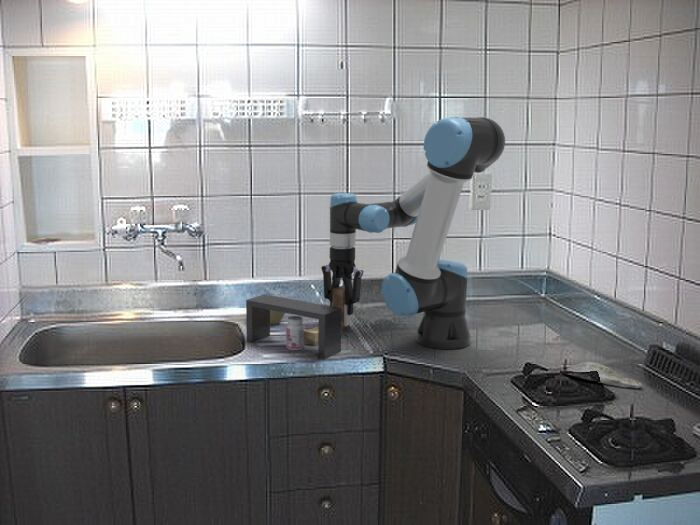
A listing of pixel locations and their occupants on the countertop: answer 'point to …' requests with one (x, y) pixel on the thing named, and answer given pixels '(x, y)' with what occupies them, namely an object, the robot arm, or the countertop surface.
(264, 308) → the riser shelf
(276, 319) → the flower pot
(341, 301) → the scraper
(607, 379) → the stone
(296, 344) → the pill bottle
